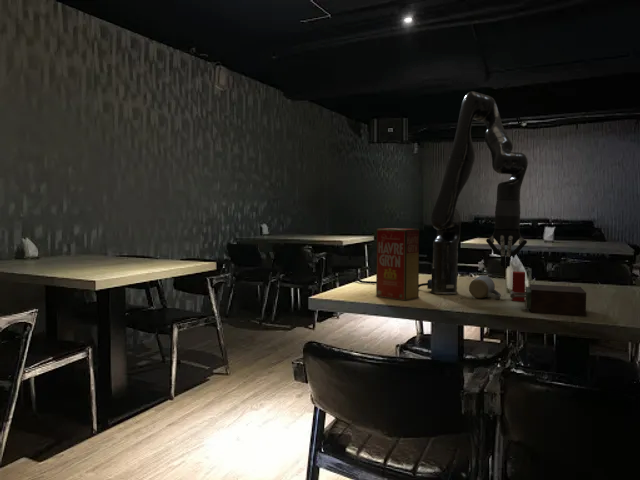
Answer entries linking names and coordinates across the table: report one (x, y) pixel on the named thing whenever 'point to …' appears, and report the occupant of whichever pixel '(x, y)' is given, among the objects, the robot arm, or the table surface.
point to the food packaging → (397, 263)
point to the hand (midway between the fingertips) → (505, 268)
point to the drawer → (528, 296)
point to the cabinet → (558, 300)
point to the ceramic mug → (483, 288)
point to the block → (518, 285)
